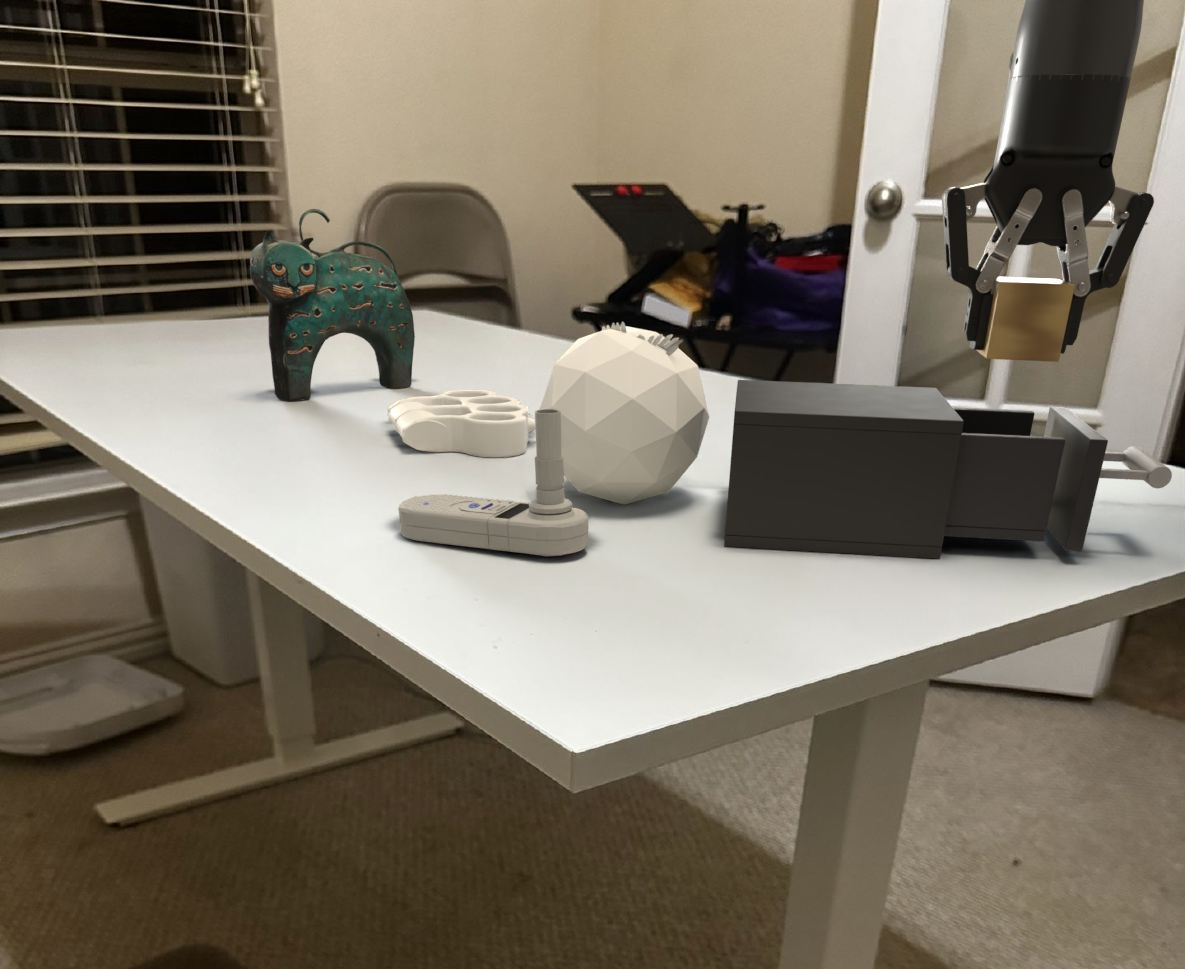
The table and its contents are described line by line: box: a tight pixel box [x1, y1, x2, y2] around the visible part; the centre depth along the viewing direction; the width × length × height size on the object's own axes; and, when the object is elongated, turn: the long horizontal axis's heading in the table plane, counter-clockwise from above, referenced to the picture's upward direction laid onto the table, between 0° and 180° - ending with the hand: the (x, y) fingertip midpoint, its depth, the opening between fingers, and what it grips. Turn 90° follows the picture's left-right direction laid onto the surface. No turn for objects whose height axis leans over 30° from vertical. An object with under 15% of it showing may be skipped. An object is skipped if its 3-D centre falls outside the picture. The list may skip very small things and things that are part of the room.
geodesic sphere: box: [538, 321, 710, 506], centre depth 93 cm, size 15×14×14 cm
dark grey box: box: [723, 379, 964, 560], centre depth 87 cm, size 16×14×10 cm
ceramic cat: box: [249, 208, 416, 403], centre depth 133 cm, size 20×6×20 cm, turn 132°
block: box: [975, 276, 1075, 363], centre depth 80 cm, size 5×5×5 cm
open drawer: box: [944, 406, 1173, 552], centre depth 86 cm, size 20×13×8 cm, turn 83°
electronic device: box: [397, 409, 590, 558], centre depth 82 cm, size 5×10×15 cm
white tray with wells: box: [387, 389, 536, 458], centre depth 115 cm, size 3×18×15 cm
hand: (1016, 349), depth 81 cm, fingers closed on block, 5 cm apart
